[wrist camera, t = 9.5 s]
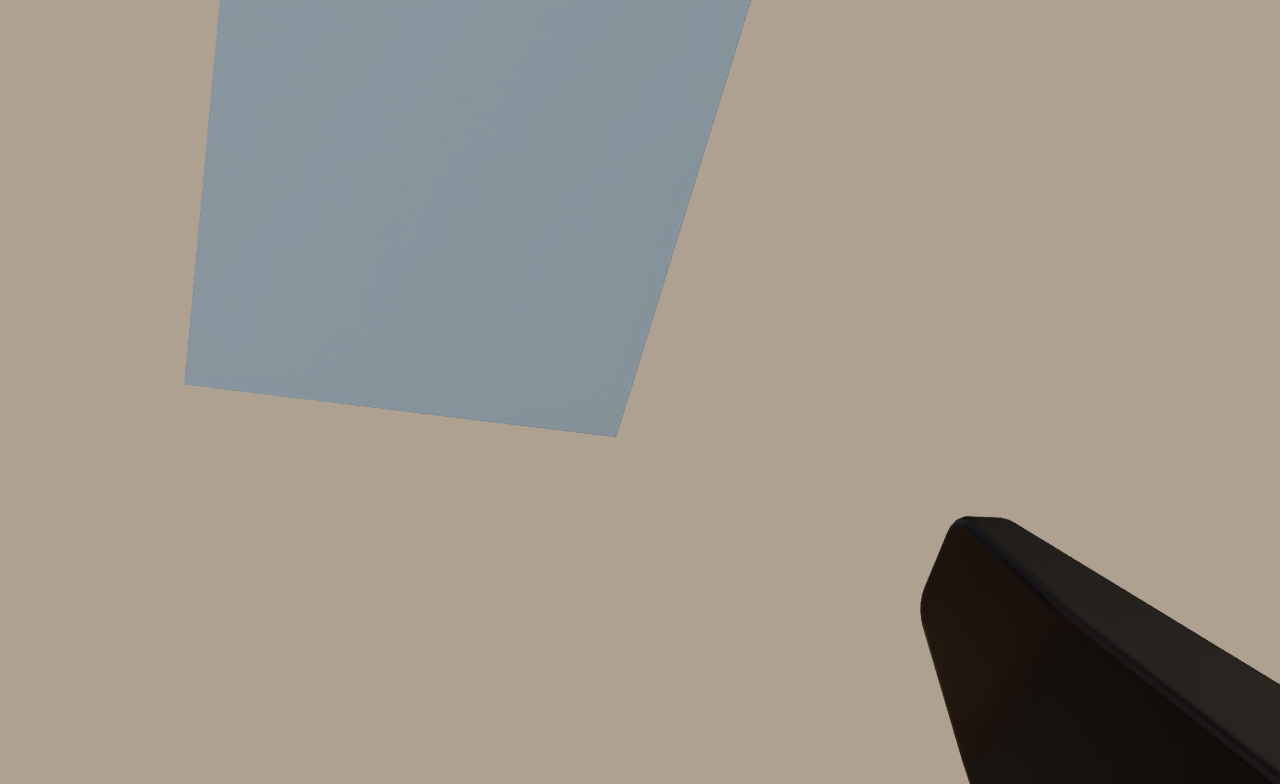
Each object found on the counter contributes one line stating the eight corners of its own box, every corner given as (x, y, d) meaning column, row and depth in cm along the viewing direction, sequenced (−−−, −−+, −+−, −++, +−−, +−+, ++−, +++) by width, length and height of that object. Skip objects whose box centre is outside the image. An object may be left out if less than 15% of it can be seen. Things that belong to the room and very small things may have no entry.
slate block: (692, -183, 17) (792, -135, 13) (568, 285, 21) (615, 437, 17) (280, -306, 16) (247, -295, 12) (224, 230, 19) (184, 384, 15)
